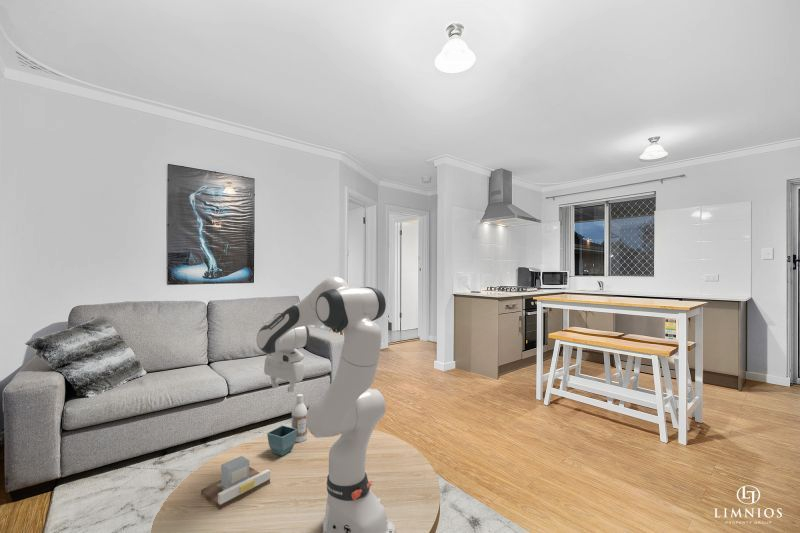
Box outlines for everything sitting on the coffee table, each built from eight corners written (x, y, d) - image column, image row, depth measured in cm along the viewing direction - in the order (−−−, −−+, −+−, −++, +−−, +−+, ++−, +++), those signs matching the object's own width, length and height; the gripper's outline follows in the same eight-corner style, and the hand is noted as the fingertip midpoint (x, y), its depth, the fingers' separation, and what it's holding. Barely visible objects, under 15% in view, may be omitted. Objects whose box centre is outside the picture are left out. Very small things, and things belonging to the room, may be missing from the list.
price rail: (271, 479, 129) (271, 471, 129) (221, 505, 114) (221, 495, 114) (267, 477, 130) (267, 469, 130) (217, 502, 116) (217, 493, 116)
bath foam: (294, 444, 158) (294, 398, 159) (289, 438, 164) (289, 394, 164) (309, 440, 162) (309, 395, 162) (304, 434, 168) (304, 391, 168)
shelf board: (270, 483, 129) (270, 478, 129) (220, 509, 115) (220, 504, 115) (249, 471, 137) (250, 466, 137) (200, 494, 122) (200, 489, 122)
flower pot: (266, 454, 149) (266, 432, 149) (282, 445, 157) (282, 424, 157) (281, 459, 145) (282, 437, 145) (297, 450, 153) (297, 429, 153)
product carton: (249, 480, 128) (249, 460, 128) (228, 490, 122) (229, 469, 122) (241, 475, 131) (241, 455, 131) (221, 484, 125) (221, 464, 125)
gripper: (260, 351, 143) (259, 386, 143) (293, 358, 132) (292, 397, 131) (273, 349, 149) (273, 382, 148) (306, 355, 137) (306, 392, 136)
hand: (282, 389), depth 140 cm, fingers open, 8 cm apart
